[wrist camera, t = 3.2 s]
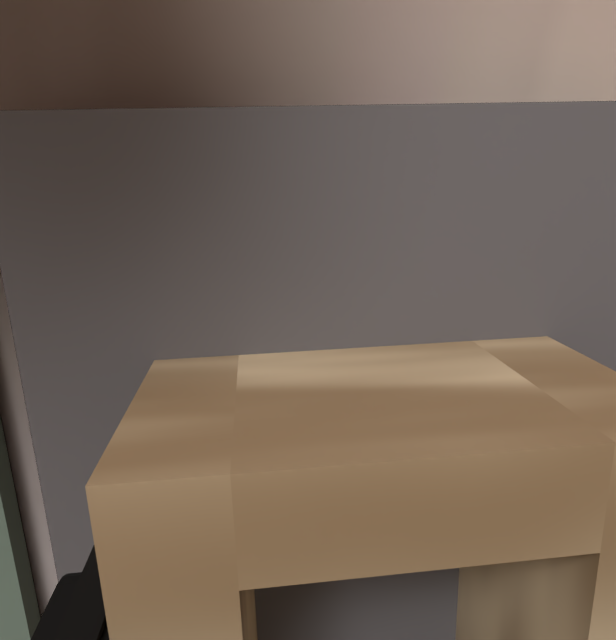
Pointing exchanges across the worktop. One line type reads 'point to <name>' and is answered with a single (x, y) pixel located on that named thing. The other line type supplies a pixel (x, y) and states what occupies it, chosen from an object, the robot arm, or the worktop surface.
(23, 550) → the rubber mat
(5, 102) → the worktop surface
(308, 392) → the beech link
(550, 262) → the post stand
